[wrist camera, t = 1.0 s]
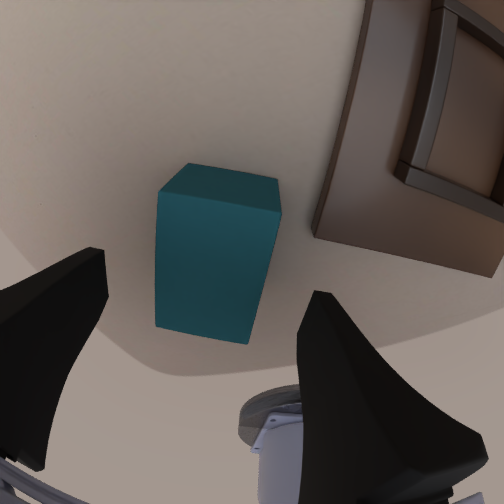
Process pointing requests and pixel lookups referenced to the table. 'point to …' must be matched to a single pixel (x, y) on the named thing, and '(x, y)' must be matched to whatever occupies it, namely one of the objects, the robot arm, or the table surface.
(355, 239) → the brown board with frame
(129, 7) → the table surface
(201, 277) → the teal block
